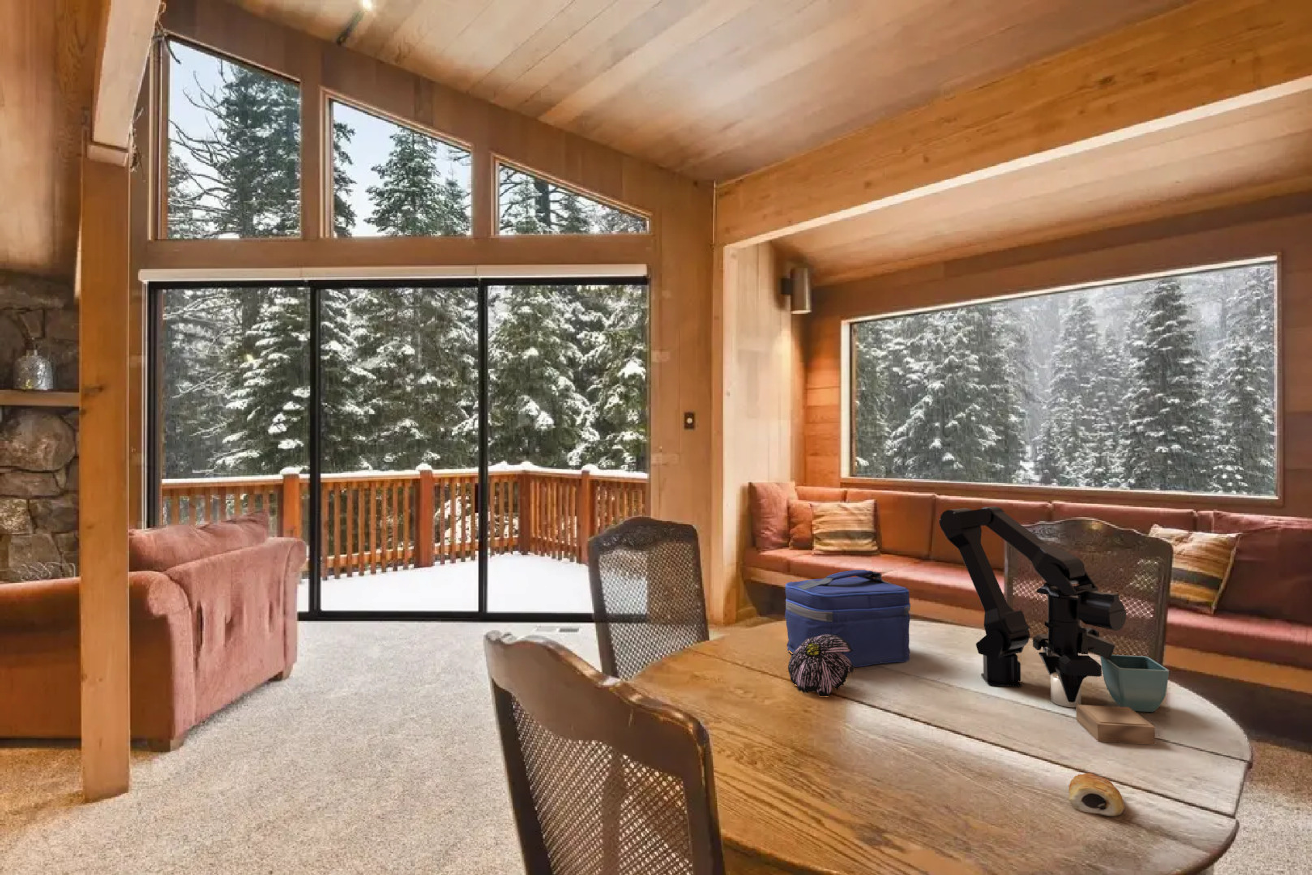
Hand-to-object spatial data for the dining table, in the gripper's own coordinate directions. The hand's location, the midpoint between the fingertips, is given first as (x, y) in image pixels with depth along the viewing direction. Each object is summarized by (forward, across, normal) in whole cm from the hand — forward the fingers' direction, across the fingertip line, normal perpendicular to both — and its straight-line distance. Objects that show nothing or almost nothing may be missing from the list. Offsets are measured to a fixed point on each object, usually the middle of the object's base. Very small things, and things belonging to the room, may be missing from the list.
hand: (1065, 696), depth 137 cm
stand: (+1, -14, -3) cm, 14 cm away
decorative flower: (+2, +3, +48) cm, 48 cm away
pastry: (+2, -40, +11) cm, 41 cm away
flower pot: (+2, 0, -12) cm, 12 cm away
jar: (+1, 0, 0) cm, 1 cm away
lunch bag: (+2, +26, +40) cm, 48 cm away
